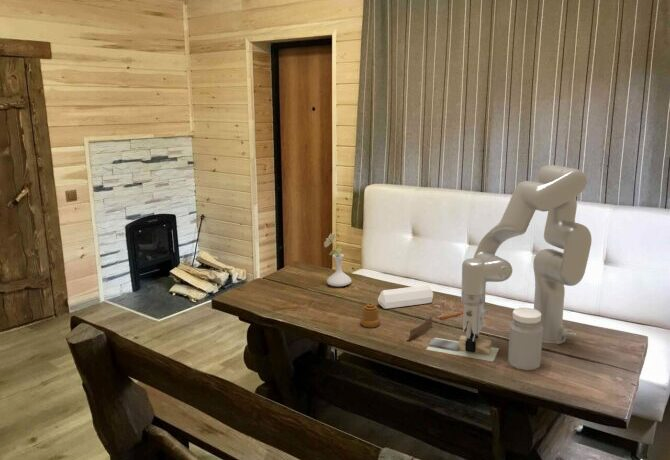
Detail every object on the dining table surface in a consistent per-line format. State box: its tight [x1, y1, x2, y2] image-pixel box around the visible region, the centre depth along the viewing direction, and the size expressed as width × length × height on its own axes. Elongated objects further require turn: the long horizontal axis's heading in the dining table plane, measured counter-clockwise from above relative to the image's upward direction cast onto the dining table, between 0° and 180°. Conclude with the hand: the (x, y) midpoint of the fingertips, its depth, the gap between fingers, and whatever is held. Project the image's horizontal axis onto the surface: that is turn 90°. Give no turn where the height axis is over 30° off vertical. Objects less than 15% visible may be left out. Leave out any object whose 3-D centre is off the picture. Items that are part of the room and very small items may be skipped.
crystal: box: [377, 284, 434, 310], centre depth 229 cm, size 7×7×24 cm
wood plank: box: [407, 316, 434, 341], centre depth 198 cm, size 15×2×5 cm, turn 140°
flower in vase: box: [323, 231, 352, 287], centre depth 251 cm, size 13×11×25 cm
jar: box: [507, 306, 543, 371], centre depth 174 cm, size 10×10×18 cm
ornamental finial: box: [360, 303, 381, 329], centre depth 209 cm, size 8×8×8 cm
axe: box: [438, 307, 491, 321], centre depth 216 cm, size 22×6×2 cm, turn 123°
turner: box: [428, 335, 493, 355], centre depth 186 cm, size 20×5×4 cm, turn 63°
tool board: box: [425, 337, 500, 362], centre depth 186 cm, size 22×10×1 cm, turn 63°
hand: (471, 348), depth 185 cm, fingers closed on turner, 3 cm apart
